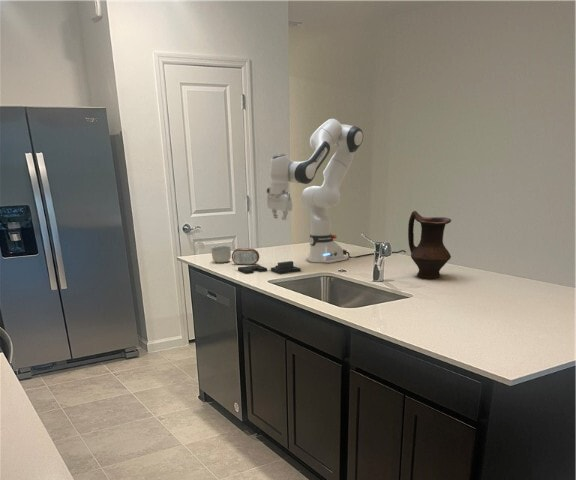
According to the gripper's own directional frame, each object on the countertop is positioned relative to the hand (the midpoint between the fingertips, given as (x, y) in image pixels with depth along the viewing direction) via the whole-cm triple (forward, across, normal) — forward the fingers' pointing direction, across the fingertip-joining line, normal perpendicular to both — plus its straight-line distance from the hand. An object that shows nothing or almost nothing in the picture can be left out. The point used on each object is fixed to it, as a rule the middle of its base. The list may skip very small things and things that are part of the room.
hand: (279, 219), depth 274 cm
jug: (+25, -53, -52) cm, 78 cm away
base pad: (+26, +6, +13) cm, 29 cm away
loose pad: (+25, -3, -1) cm, 25 cm away
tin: (+26, +23, +9) cm, 36 cm away
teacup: (+26, +39, +17) cm, 50 cm away
